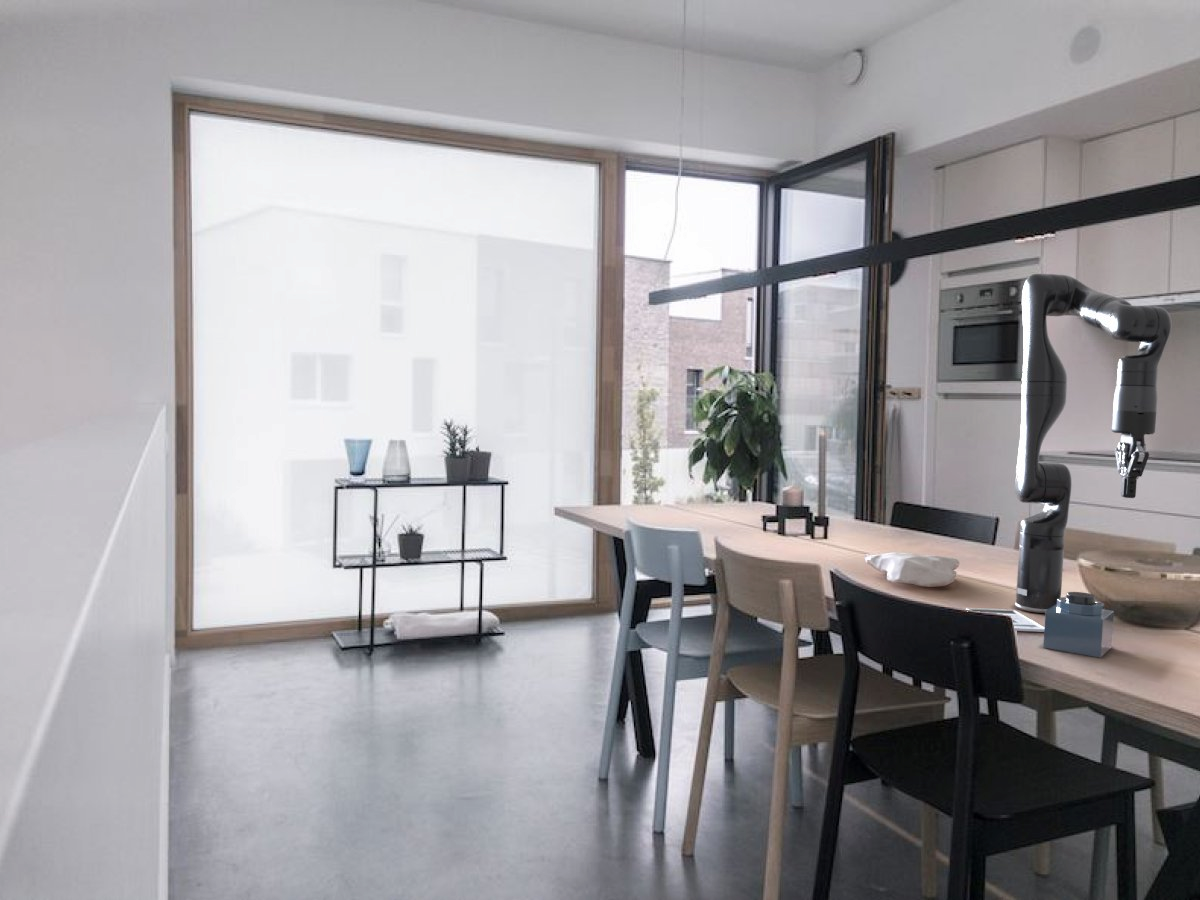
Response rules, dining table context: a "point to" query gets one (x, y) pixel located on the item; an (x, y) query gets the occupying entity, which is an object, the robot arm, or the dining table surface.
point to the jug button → (1080, 598)
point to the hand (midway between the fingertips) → (1128, 497)
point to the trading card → (1015, 619)
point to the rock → (915, 568)
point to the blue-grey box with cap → (1078, 628)
